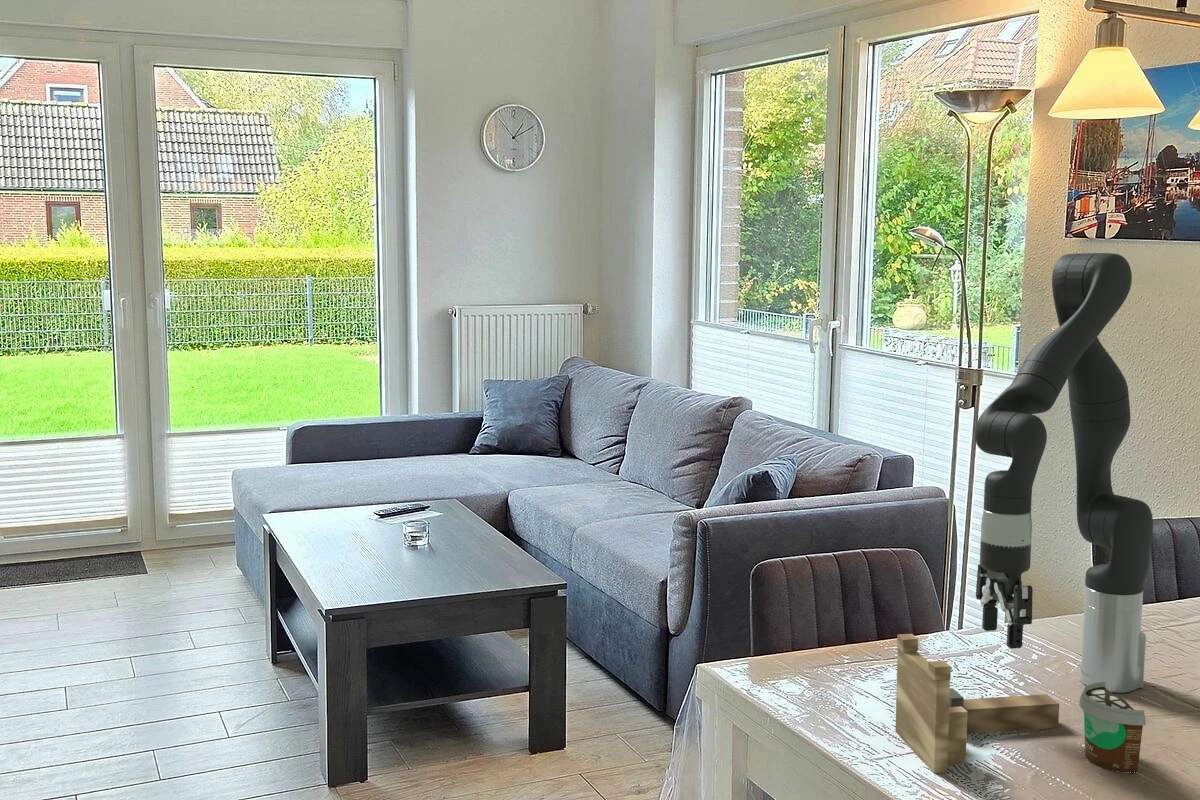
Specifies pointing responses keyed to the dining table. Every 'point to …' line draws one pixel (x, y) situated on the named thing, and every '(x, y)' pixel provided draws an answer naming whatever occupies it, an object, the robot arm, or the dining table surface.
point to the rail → (1007, 712)
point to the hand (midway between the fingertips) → (1001, 638)
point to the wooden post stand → (928, 708)
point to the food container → (1111, 729)
